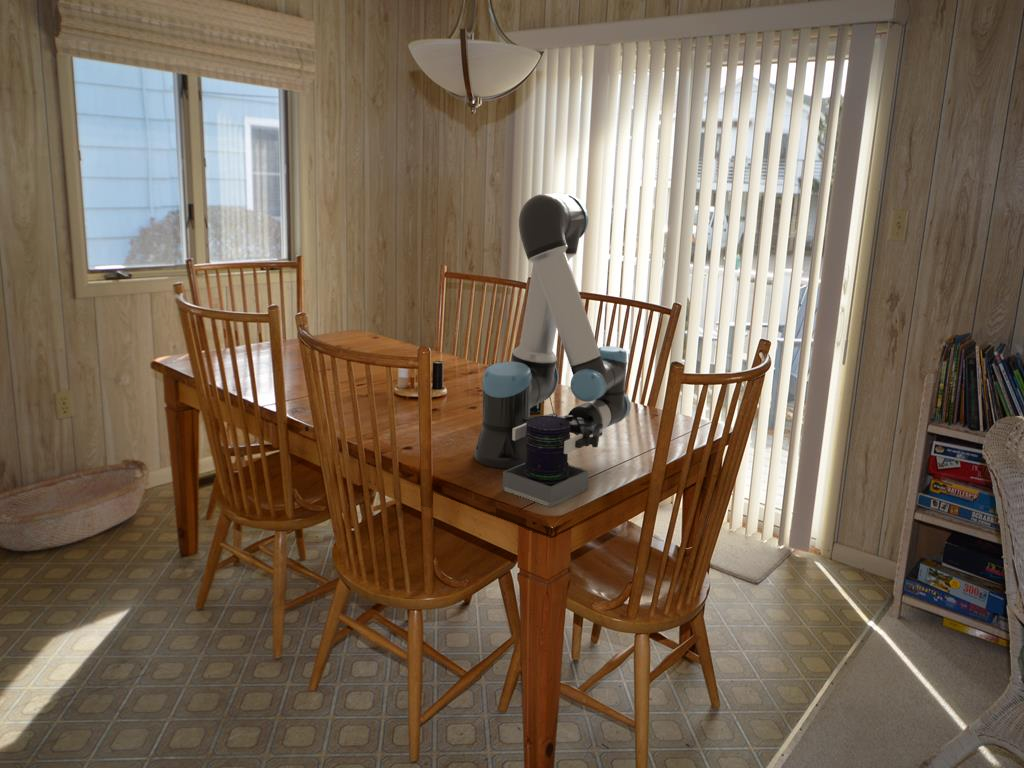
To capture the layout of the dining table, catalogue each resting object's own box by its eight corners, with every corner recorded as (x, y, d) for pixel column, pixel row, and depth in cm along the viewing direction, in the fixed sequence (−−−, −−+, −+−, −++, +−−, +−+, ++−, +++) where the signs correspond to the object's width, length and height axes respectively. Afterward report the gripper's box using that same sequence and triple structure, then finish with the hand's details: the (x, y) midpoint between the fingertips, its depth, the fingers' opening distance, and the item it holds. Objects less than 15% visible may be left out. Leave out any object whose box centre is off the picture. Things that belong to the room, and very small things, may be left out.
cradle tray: (502, 490, 175) (503, 471, 174) (540, 474, 185) (541, 456, 184) (550, 507, 167) (551, 487, 166) (587, 489, 177) (588, 471, 176)
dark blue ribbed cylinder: (518, 490, 173) (520, 426, 169) (530, 475, 182) (532, 413, 178) (562, 497, 170) (565, 431, 166) (572, 480, 179) (575, 418, 175)
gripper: (634, 444, 181) (587, 470, 164) (544, 423, 195) (493, 445, 178) (636, 413, 179) (589, 436, 162) (545, 394, 193) (493, 413, 176)
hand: (538, 441), depth 170 cm, fingers open, 13 cm apart
